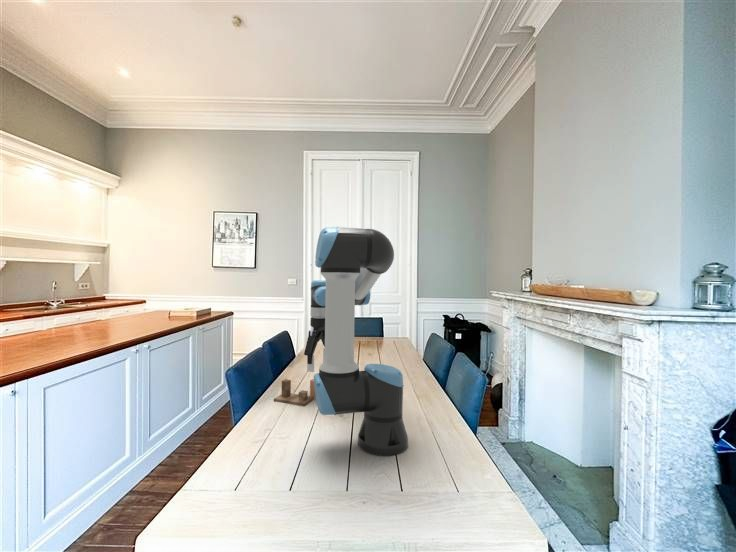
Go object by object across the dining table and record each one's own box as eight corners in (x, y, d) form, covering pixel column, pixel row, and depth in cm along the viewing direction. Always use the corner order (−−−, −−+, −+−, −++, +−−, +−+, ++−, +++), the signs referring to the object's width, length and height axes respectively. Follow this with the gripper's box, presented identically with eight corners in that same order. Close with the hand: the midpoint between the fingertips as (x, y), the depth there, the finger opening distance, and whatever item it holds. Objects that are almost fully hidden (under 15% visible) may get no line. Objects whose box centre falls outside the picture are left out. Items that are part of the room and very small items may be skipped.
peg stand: (314, 399, 140) (314, 380, 140) (304, 406, 132) (304, 386, 132) (285, 394, 145) (285, 376, 145) (273, 401, 137) (274, 382, 137)
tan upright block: (321, 398, 142) (321, 382, 142) (309, 396, 144) (310, 380, 143) (326, 393, 147) (327, 378, 147) (316, 392, 148) (316, 377, 148)
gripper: (312, 321, 132) (311, 376, 132) (340, 314, 155) (339, 360, 156) (295, 320, 135) (294, 374, 135) (325, 313, 158) (324, 359, 158)
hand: (318, 367), depth 145 cm, fingers open, 13 cm apart
